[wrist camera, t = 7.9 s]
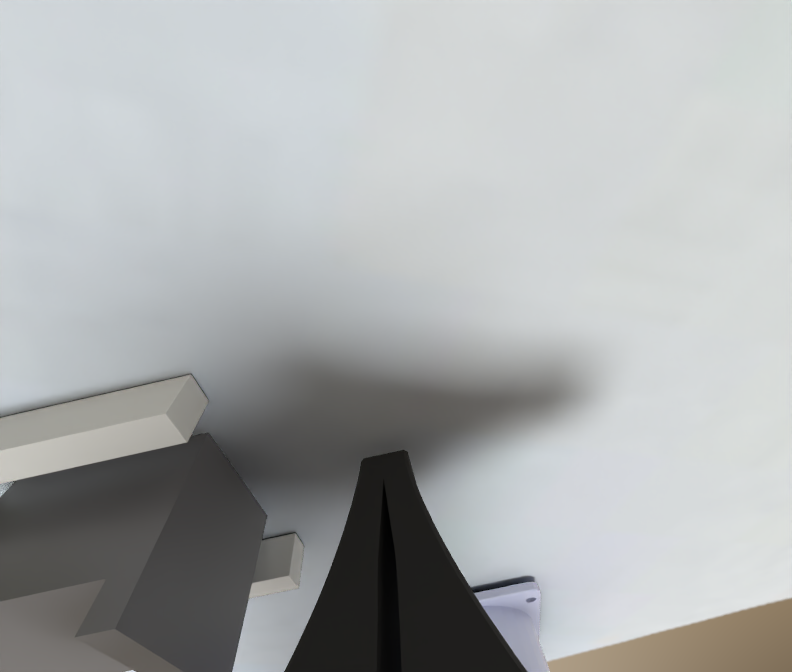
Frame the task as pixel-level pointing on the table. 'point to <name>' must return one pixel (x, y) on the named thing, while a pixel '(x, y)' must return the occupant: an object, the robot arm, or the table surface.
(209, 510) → the grey overhanging lid block
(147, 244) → the table surface
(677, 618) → the table surface
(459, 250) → the table surface
